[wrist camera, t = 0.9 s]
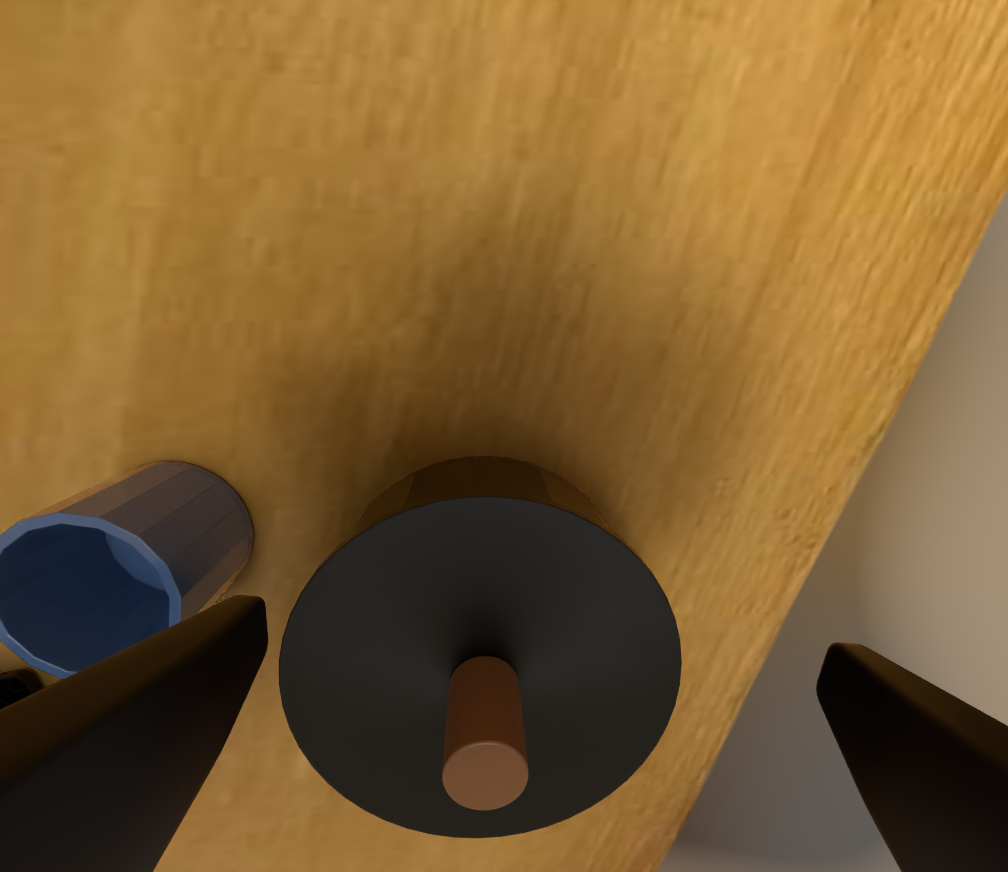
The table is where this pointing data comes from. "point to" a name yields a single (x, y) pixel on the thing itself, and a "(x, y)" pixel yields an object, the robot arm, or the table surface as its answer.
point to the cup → (119, 564)
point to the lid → (480, 665)
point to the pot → (479, 485)
